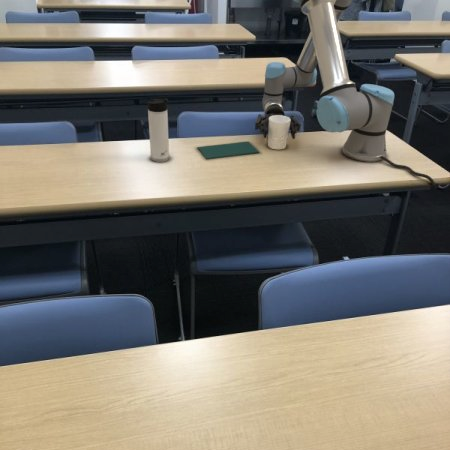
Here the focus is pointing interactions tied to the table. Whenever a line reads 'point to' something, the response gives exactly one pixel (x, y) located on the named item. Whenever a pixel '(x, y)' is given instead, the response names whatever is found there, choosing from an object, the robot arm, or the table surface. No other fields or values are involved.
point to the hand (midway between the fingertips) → (279, 134)
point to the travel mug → (158, 129)
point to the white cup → (278, 131)
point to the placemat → (227, 150)
